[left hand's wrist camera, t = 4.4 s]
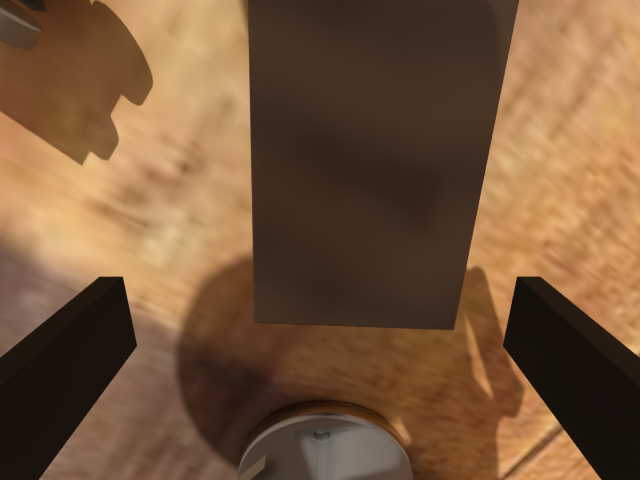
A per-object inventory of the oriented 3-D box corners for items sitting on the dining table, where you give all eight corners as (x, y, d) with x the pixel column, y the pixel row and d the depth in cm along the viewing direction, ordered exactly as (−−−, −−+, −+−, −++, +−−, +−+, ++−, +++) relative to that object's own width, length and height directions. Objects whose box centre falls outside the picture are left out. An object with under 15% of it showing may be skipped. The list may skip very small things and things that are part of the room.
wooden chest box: (272, -38, 21) (244, -116, 13) (460, -28, 21) (539, -99, 14) (272, 260, 27) (253, 323, 20) (416, 266, 28) (454, 331, 20)
